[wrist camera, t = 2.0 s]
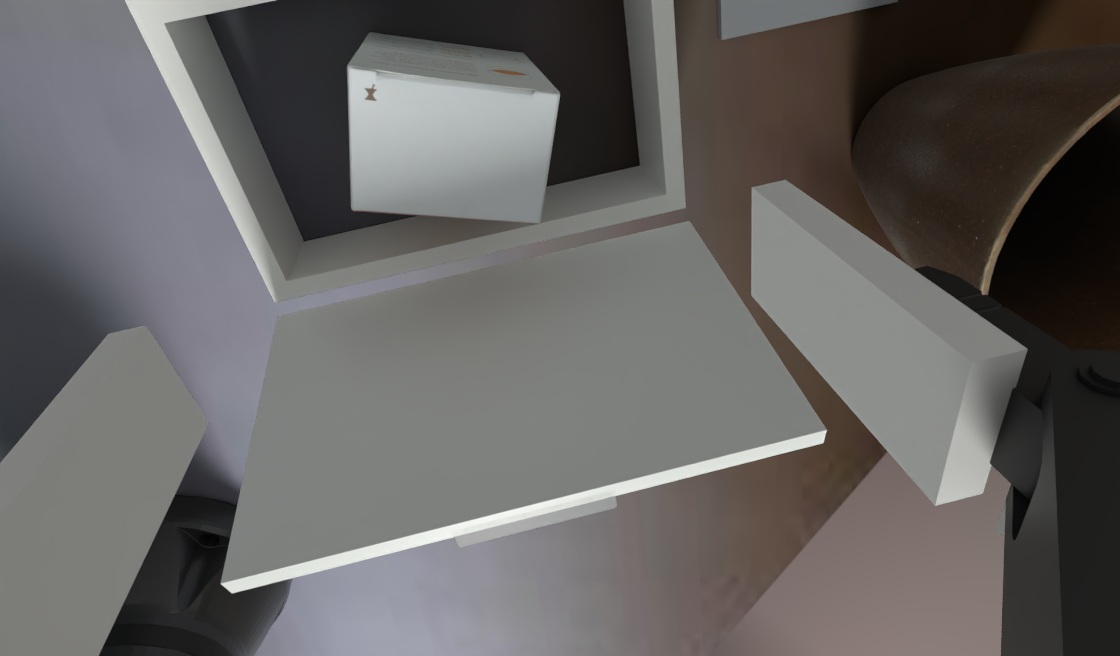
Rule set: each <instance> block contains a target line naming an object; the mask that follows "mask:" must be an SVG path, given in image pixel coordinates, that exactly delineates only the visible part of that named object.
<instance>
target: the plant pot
mask: <svg viewBox="0 0 1120 656" xmlns="http://www.w3.org/2000/svg"><path fill="white" fill-rule="evenodd" d="M852 165H853V170H854V174H855V177H856V179H857V181H858V183H859V186H860V188H861V191H862V193H863V195H864V197H865V199H866V201H867V203H868V205H869V207H870V209H871V210H872V212H873V214H874V216H875V218H876V219H877V221H878V223H879V224H880V226H881V228H882V229H883V231H884V233H885V234H886V236H887V237H888V239H889V240H890V242H891V243H892V245H893V246H894V248H895V249H896V251H897V252H898V253H899V255H900V256H901V257H902V259H903V260H904V262H905V263H906V264H907V265H908V266H910V267H911V268H912V269H916V268H920V267H924V266H930V267H933V268H936V269H939V270H942V271H945V272H948V273H950V274H953V275H956V276H959V277H960V278H962V279H963V280H965V281H967V282H968V283H970V284H971V285H973V286H974V287H976V288H977V289H979V290H980V291H982V295H986V294H987V295H988V296H990V297H991V298H993V299H994V300H996V301H997V302H999V303H1000V304H1001V307H1002V308H1005V307H1006V308H1008V309H1010V310H1011V311H1013V312H1014V313H1016V314H1017V315H1019V316H1020V317H1022V318H1023V319H1025V320H1026V321H1028V322H1030V323H1031V324H1033V325H1034V326H1036V327H1037V328H1039V329H1040V330H1042V331H1043V332H1045V333H1046V334H1048V335H1049V336H1051V337H1053V338H1054V339H1056V340H1057V341H1059V342H1060V343H1062V344H1063V345H1065V346H1066V347H1068V348H1069V349H1071V350H1072V351H1079V350H1085V349H1090V350H1108V351H1114V352H1118V353H1120V43H1115V44H1102V45H1091V46H1081V47H1072V48H1063V49H1054V50H1047V51H1039V52H1032V53H1025V54H1018V55H1012V56H1006V57H1001V58H995V59H989V60H985V61H980V62H975V63H970V64H966V65H962V66H958V67H953V68H949V69H946V70H942V71H938V72H935V73H931V74H927V75H924V76H921V77H918V78H915V79H912V80H909V81H906V82H904V83H902V84H900V85H898V86H896V87H895V88H893V89H892V90H890V91H889V92H888V93H886V94H885V95H884V96H883V97H881V98H880V99H879V100H878V101H877V102H876V104H875V105H874V106H873V107H872V108H871V109H870V111H869V112H868V113H867V115H866V116H865V118H864V120H863V121H862V123H861V125H860V127H859V129H858V132H857V134H856V137H855V140H854V144H853V150H852Z"/></svg>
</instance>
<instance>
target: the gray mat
mask: <svg viewBox="0 0 1120 656" xmlns="http://www.w3.org/2000/svg"><path fill="white" fill-rule="evenodd" d="M895 2H898V0H717V14H718V39H720V40H724V39H729V38H733V37H738V36H743V35H747V34H752V33H756V32H761V31H766V30H770V29H775V28H779V27H784V26H789V25H793V24H798V23H802V22H807V21H812V20H816V19H821V18H826V17H830V16H835V15H839V14H844V13H849V12H853V11H858V10H862V9H867V8H872V7H876V6H881V5H886V4H890V3H895Z"/></svg>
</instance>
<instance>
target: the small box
mask: <svg viewBox="0 0 1120 656" xmlns="http://www.w3.org/2000/svg"><path fill="white" fill-rule="evenodd" d="M347 83H348V122H349V156H350V190H351V209H352V211H361V212H374V213H387V214H403V215H416V216H431V217H445V218H459V219H473V220H489V221H501V222H514V223H529V224H538V225H539V224H540V222H541V218H542V211H543V205H544V198H545V192H546V186H547V179H548V173H549V166H550V159H551V153H552V146H553V140H554V133H555V127H556V120H557V113H558V107H559V100H560V92H559V91H558V90H557V89H556V88H555V87H554V85H553V84H552V83H551V82H550V81H549V80H548V79H547V78H546V77H545V75H544V74H543V73H542V72H541V71H540V70H539V69H538V68H537V67H536V66H535V65H534V64H533V62H532V61H531V60H530V59H529V58H528V57H527V56H526V55H525V53H522V52H512V51H505V50H497V49H490V48H483V47H475V46H468V45H460V44H453V43H446V42H438V41H431V40H423V39H416V38H408V37H401V36H394V35H387V34H380V33H374V32H370V33H368V35H367V36H366V38H365V39H364V41H363V42H362V44H361V46H360V47H359V49H358V50H357V52H356V53H355V54H354V56H353V57H352V59H351V61H350V62H349V64H348V65H347Z"/></svg>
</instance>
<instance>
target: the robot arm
mask: <svg viewBox="0 0 1120 656" xmlns="http://www.w3.org/2000/svg"><path fill="white" fill-rule="evenodd" d="M751 295H752V297H753V298H754V299H755V300H756V301H757V302H758V303H759V305H760V306H761V307H762V308H763V309H764V310H765V311H766V313H767V314H768V315H769V316H770V317H771V318H772V319H773V321H774V322H775V323H776V324H777V325H778V326H779V327H780V329H781V330H782V331H783V332H784V333H785V334H786V335H787V337H788V338H789V339H790V340H791V341H792V342H793V343H794V345H795V346H796V347H797V348H798V349H799V350H800V351H801V353H802V354H803V355H804V356H805V357H806V358H807V359H808V361H809V362H810V363H811V364H812V365H813V366H814V367H815V369H816V370H817V371H818V372H819V373H820V374H821V375H822V377H823V378H824V379H825V380H826V381H827V382H828V383H829V385H830V386H831V387H832V388H833V389H834V390H835V392H836V393H837V394H838V395H839V396H840V397H841V398H842V400H843V401H844V402H845V403H846V404H847V405H848V406H849V408H850V409H851V410H852V411H853V412H854V413H855V414H856V416H857V417H858V418H859V419H860V420H861V421H862V422H863V424H864V425H865V426H866V427H867V428H868V429H869V430H870V432H871V433H872V434H873V435H874V436H875V437H876V438H877V440H878V441H879V442H880V443H881V444H882V445H883V446H884V448H885V449H886V450H887V451H888V452H889V453H890V454H891V456H892V457H893V458H894V459H895V460H896V461H897V462H898V464H899V465H900V466H901V467H902V468H903V469H904V470H905V472H906V473H907V474H908V475H909V476H910V477H911V478H912V480H913V481H914V482H915V483H916V484H917V485H918V487H919V488H920V489H921V490H922V491H923V492H924V493H925V494H926V496H927V497H928V498H929V499H930V500H931V501H932V503H933V504H934V505H935V506H936V505H940V504H944V503H947V502H951V501H955V500H959V499H963V498H967V497H971V496H975V495H979V494H982V493H983V491H984V487H985V484H986V481H987V478H988V475H989V471H990V468H991V465H992V466H993V467H994V468H995V469H996V470H998V471H999V472H1000V473H1001V474H1002V475H1003V476H1004V477H1005V478H1006V479H1007V480H1008V481H1009V482H1010V483H1011V486H1010V489H1009V492H1008V495H1007V498H1006V501H1005V503H1004V506H1003V509H1002V512H1001V515H1000V518H999V521H998V524H997V527H996V529H995V533H998V534H1002V535H1003V534H1004V532H1005V543H1004V544H1005V545H1004V577H1003V608H1002V638H1001V656H1120V353H1118V352H1114V351H1108V350H1090V349H1085V350H1079V351H1072V350H1071V349H1069V348H1068V347H1066V346H1065V345H1063V344H1062V343H1060V342H1059V341H1057V340H1056V339H1054V338H1053V337H1051V336H1049V335H1048V334H1046V333H1045V332H1043V331H1042V330H1040V329H1039V328H1037V327H1036V326H1034V325H1033V324H1031V323H1030V322H1028V321H1026V320H1025V319H1023V318H1022V317H1020V316H1019V315H1017V314H1016V313H1014V312H1013V311H1011V310H1010V309H1008V308H1006V307H1005V308H1002V307H1001V304H1000V303H999V302H997V301H996V300H994V299H993V298H991V297H990V296H988V295H987V294H986V295H982V291H980V290H979V289H977V288H976V287H974V286H973V285H971V284H970V283H968V282H967V281H965V280H963V279H962V278H960V277H959V276H956V275H953V274H950V273H948V272H945V271H942V270H939V269H936V268H933V267H930V266H924V267H920V268H916V269H912V268H911V267H910V266H908V265H907V264H905V263H904V262H902V261H901V260H900V259H898V258H897V257H895V256H894V255H892V254H891V253H890V252H888V251H887V250H885V249H884V248H882V247H881V246H880V245H878V244H877V243H875V242H874V241H872V240H871V239H869V238H868V237H867V236H865V235H864V234H862V233H861V232H859V231H858V230H857V229H855V228H854V227H852V226H851V225H849V224H848V223H847V222H845V221H844V220H842V219H841V218H839V217H838V216H837V215H835V214H834V213H832V212H831V211H829V210H828V209H827V208H825V207H824V206H822V205H821V204H819V203H818V202H817V201H815V200H814V199H812V198H811V197H809V196H808V195H806V194H805V193H804V192H802V191H801V190H799V189H798V188H796V187H795V186H794V185H792V184H791V183H789V182H788V181H786V180H783V181H778V182H774V183H770V184H765V185H761V186H756V187H752V255H751ZM208 424H209V422H208V420H207V419H206V417H205V416H204V414H203V412H202V411H201V409H200V408H199V406H198V405H197V403H196V402H195V400H194V399H193V397H192V396H191V394H190V393H189V391H188V389H187V388H186V386H185V385H184V383H183V382H182V380H181V379H180V377H179V376H178V374H177V373H176V371H175V369H174V368H173V366H172V365H171V363H170V362H169V360H168V359H167V357H166V356H165V354H164V353H163V351H162V350H161V348H160V346H159V345H158V343H157V342H156V340H155V339H154V337H153V336H152V334H151V333H150V331H149V330H148V328H147V327H146V325H144V326H140V327H135V328H131V329H127V330H122V331H118V332H113V333H109V334H108V335H107V336H106V337H105V338H104V340H103V341H102V342H101V343H100V344H99V346H98V347H97V348H96V349H95V350H94V352H93V353H92V354H91V355H90V356H89V358H88V359H87V360H86V361H85V362H84V364H83V365H82V366H81V367H80V368H79V369H78V371H77V372H76V373H75V374H74V375H73V377H72V378H71V379H70V380H69V381H68V383H67V384H66V385H65V386H64V387H63V389H62V390H61V391H60V392H59V393H58V395H57V396H56V397H55V398H54V399H53V401H52V402H51V403H50V404H49V405H48V407H47V408H46V409H45V410H44V411H43V413H42V414H41V415H40V416H39V417H38V419H37V420H36V421H35V422H34V423H33V424H32V426H31V427H30V428H29V429H28V430H27V432H26V433H25V434H24V435H23V436H22V438H21V439H20V440H19V441H18V442H17V444H16V445H15V446H14V447H13V448H12V450H11V451H10V452H9V453H8V454H7V456H6V457H5V458H4V459H3V460H2V462H1V463H0V656H254V655H255V653H256V651H257V650H258V648H259V646H260V645H261V643H262V641H263V639H264V638H265V636H266V634H267V633H268V631H269V629H270V627H271V625H272V624H273V623H274V622H275V620H276V619H277V618H278V616H279V615H280V613H281V612H282V610H283V608H284V606H285V604H286V601H287V598H288V595H289V590H290V586H291V581H292V578H291V579H287V580H283V581H279V582H275V583H271V584H268V585H264V586H260V587H256V588H252V589H248V590H244V591H240V592H236V593H231V592H230V591H228V590H227V589H226V588H225V587H224V586H223V585H221V579H222V574H223V570H224V565H225V560H226V556H227V551H228V546H229V541H230V537H231V532H232V527H233V523H234V518H235V513H236V509H237V507H235V506H232V505H229V504H226V503H222V502H218V501H214V500H209V499H204V498H196V497H184V496H175V494H176V492H177V490H178V487H179V485H180V483H181V481H182V479H183V477H184V475H185V473H186V471H187V468H188V466H189V464H190V462H191V460H192V458H193V456H194V454H195V452H196V450H197V447H198V445H199V443H200V441H201V439H202V437H203V435H204V433H205V431H206V428H207V426H208Z"/></svg>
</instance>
